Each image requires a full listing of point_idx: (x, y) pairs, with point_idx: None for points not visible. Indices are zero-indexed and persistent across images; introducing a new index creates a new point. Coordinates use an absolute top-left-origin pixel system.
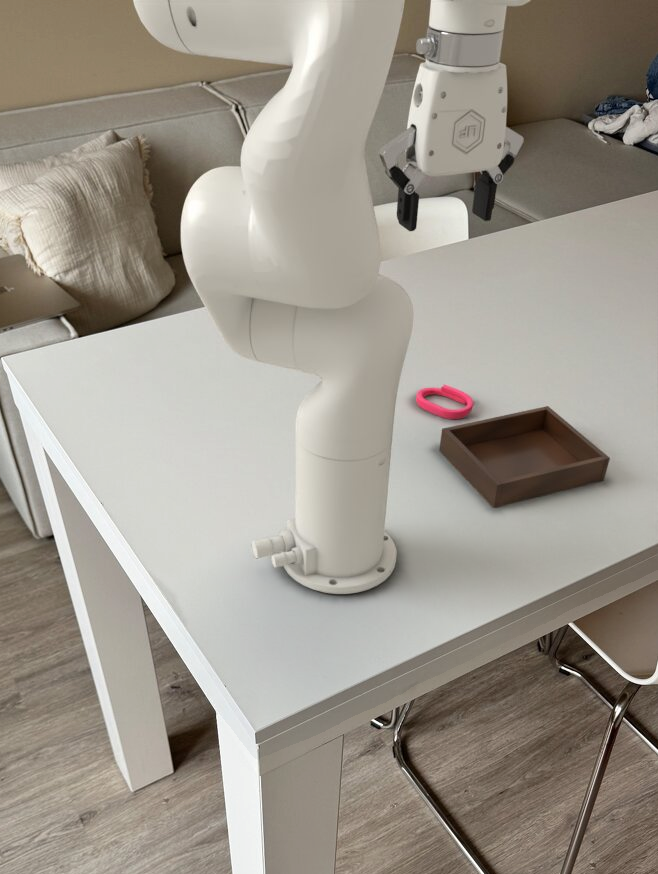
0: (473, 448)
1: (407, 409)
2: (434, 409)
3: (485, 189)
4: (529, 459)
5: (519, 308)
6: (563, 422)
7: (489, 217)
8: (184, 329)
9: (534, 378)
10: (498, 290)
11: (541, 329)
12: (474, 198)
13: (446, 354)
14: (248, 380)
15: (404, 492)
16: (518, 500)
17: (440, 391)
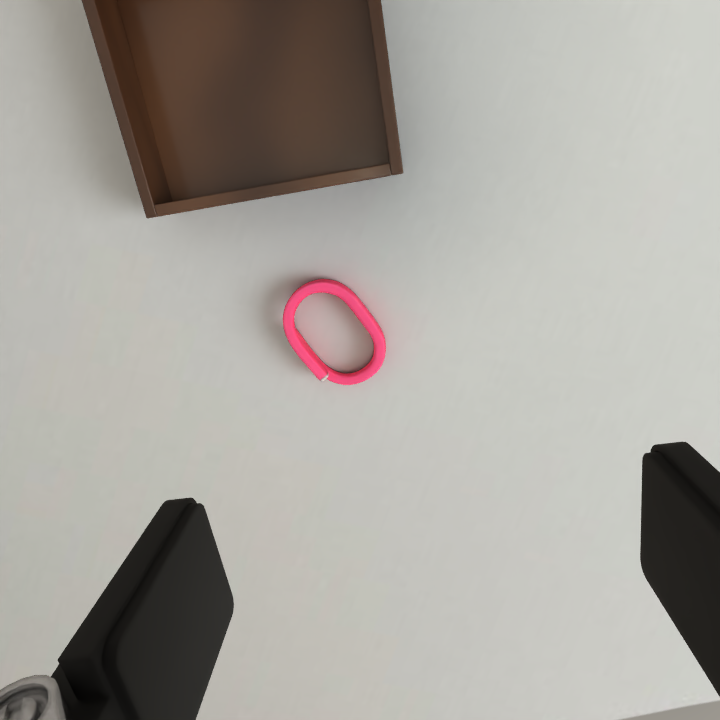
0: (333, 159)
1: (408, 335)
2: (365, 308)
3: (145, 658)
4: (233, 92)
5: None
6: (132, 141)
7: (171, 506)
8: (698, 665)
9: (132, 390)
10: None
11: (72, 545)
12: (210, 664)
13: (271, 501)
14: None
15: (528, 28)
16: None
17: (330, 370)
